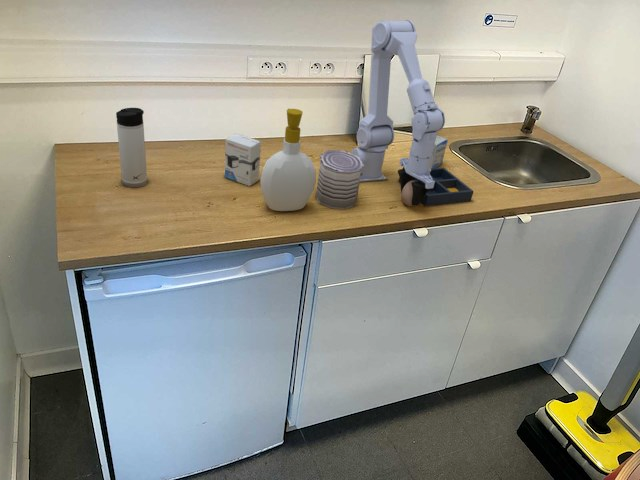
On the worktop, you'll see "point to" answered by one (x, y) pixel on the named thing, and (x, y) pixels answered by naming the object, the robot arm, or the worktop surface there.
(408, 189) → the egg
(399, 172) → the robot arm
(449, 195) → the divided tray
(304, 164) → the soap bottle
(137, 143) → the travel mug
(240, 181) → the ink box
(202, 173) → the worktop surface
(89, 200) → the worktop surface
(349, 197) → the can
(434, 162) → the medicine box
